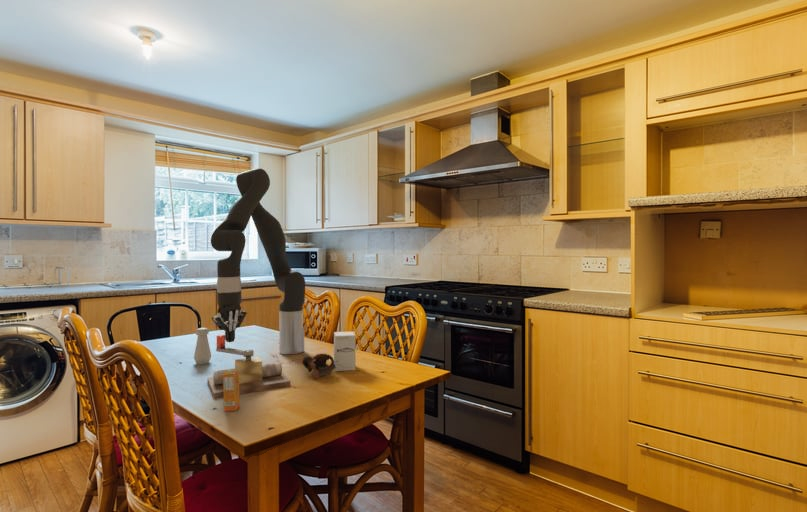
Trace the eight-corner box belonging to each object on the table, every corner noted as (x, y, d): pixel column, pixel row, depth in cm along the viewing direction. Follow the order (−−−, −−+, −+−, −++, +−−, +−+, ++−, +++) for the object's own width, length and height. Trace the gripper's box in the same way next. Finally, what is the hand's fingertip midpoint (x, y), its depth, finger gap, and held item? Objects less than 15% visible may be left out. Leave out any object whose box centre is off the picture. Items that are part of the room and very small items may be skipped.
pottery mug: (338, 372, 149) (340, 355, 145) (327, 392, 141) (329, 374, 137) (306, 362, 151) (307, 344, 146) (294, 381, 143) (295, 363, 138)
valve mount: (277, 372, 147) (277, 347, 146) (290, 385, 133) (290, 358, 133) (207, 382, 135) (207, 355, 135) (214, 398, 122) (213, 368, 121)
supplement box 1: (226, 407, 115) (226, 370, 115) (239, 406, 115) (239, 370, 115) (222, 411, 112) (222, 374, 112) (236, 411, 112) (236, 374, 112)
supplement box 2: (334, 371, 147) (334, 335, 147) (333, 365, 155) (333, 331, 154) (355, 370, 149) (355, 335, 149) (353, 364, 156) (353, 330, 156)
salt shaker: (214, 361, 160) (214, 326, 159) (205, 365, 154) (205, 330, 154) (199, 360, 160) (199, 326, 160) (190, 365, 155) (190, 329, 154)
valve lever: (255, 355, 135) (255, 338, 134) (248, 357, 132) (248, 340, 132) (221, 350, 141) (221, 334, 141) (214, 352, 138) (214, 336, 138)
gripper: (236, 287, 149) (237, 336, 149) (204, 291, 137) (205, 345, 137) (252, 288, 145) (253, 338, 146) (221, 293, 133) (222, 347, 134)
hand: (230, 341), depth 142 cm, fingers closed
